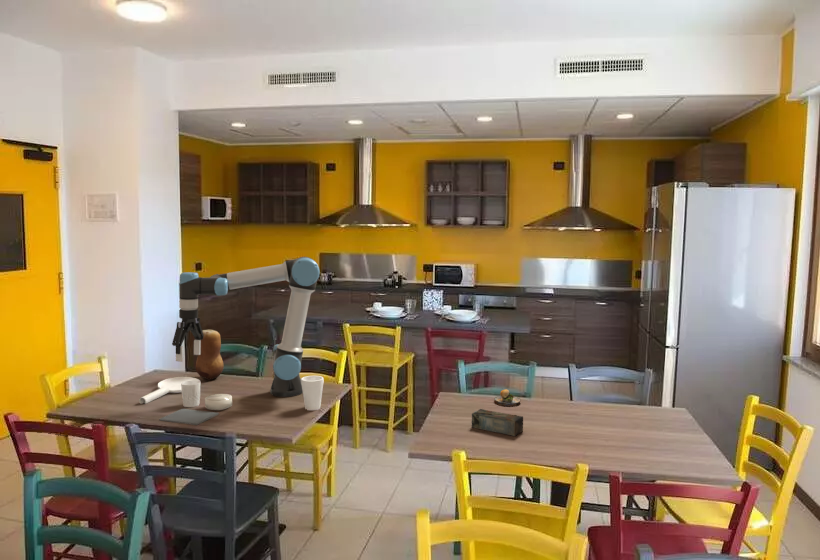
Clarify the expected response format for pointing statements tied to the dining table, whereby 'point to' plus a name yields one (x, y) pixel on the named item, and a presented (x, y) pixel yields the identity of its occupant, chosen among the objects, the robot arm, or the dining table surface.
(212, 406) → the bowl
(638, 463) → the dining table surface
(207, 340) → the butternut squash
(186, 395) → the white cup
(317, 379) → the foam cup
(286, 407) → the dining table surface
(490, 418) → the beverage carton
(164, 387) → the frying pan
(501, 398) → the plate of food
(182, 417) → the mat
